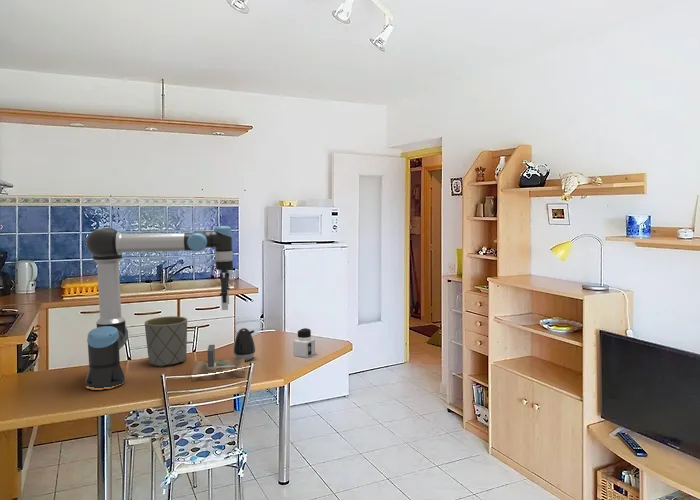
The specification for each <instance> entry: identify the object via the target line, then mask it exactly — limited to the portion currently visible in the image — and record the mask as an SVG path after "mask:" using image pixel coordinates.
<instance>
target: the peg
mask: <svg viewBox="0 0 700 500" xmlns="http://www.w3.org/2000/svg"><path fill="white" fill-rule="evenodd" d="M215 348H216V346H215V344H209V345H208V347H207V351H206V353H207V361H208V364H207V367H208V370H215V369H216V368H224V367H235V366H220V367H216V363H215V360H216V349H215Z"/></svg>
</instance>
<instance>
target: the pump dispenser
mask: <svg viewBox="0 0 700 500" xmlns="http://www.w3.org/2000/svg"><path fill="white" fill-rule="evenodd" d="M254 333H255V330H249V329H248V328H246V327H243V328H241V329H239V330H238V332H237V334H236V336H235V340H234V344H233V354H234V357H235V359H245V362H247V361H249V360H251V359H252V358H253V357H254V356H255V352H256V346H255V341H254V337H253V336H252V334H254ZM246 360H247V361H246Z"/></svg>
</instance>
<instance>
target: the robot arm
mask: <svg viewBox="0 0 700 500" xmlns="http://www.w3.org/2000/svg"><path fill="white" fill-rule="evenodd" d="M232 232H233V231H232V228H231V227H230V226H227V225H218V226H217V225H216V226H215V227H214V230H208V231H207V230H200V231H199V230H193V231H191V230H190V231H188V232H174V233H163V232H162V233H121V232H120V231H119V230H117V229H115V228H112V227H102V228H98V229H95V230H93V231H91V232H90V233H89V234H88V235H87V237H86V239H85V240H86V241H85V245H86V249H87V250H88V252H89V253H90V254H91V255H92V261H93V262H95V263H96V267H97V268H96V269H97V288H98V305H99V319H98V320H97V321H96V328H93V329H91V330H90V331H89V332H88V333H87V339H86V340H87V341H86V342H87V350H88V351H87V353H88V372H87V375H86V378H85V381H84V383H85V384H86V386H89V387H94V388H104V387H112V386H116V385H119V384H122V383H123V382H125V383H126V376H125V373H124V371H123V369H122V367H121V364H120V363H121V362H120V350H121V349H122V348H123V347H124V346H125V345H126V343H127V341H128V338H129V329H128V328H127V327H126V319H125V318H124V317H123V316H122V303H121V285H120V284H121V281H120V265H119V263H120V262H121V261H122V259H123V253H148V252H150V253H152V252H154V253H155V252H183V251H184V252H186V251H187V252H190V251H192V252H201V251H203V250H204V249H208V248H209V249H211V248H214V256H215V260H216V261H215V270H218V271H221V272H220V274H219V277H220V280H219V281H220V283H221V284H220V286H221V287H220V289H221V290H220V291H221V293H219V296H220V298H221V301H220V302H221V311H228V310H229V305H230V290H231V287H230V286H229V280H230V278H229V277H230V272H229V270H232V269H233V268H234V263H233V256H234V255H235V254H234V252H233V233H232ZM85 384H84V385H85Z"/></svg>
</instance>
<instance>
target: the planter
mask: <svg viewBox="0 0 700 500" xmlns="http://www.w3.org/2000/svg"><path fill="white" fill-rule="evenodd" d="M144 329H145V339H146V347H147V356H148V357H147V358H148V364H151V365H153V366H156V367H159V368H163V367H164V366H167V365H174V364H179V363H181V362H183V363H185V362H186V361H187V351H188V350H187V347H188V345H187V344H188V318H187V317H185V316H184V317H183V316H176V315H175V316H173V315H172V316H170V315H169V316H160V317H155V318H154V317H153V318H150V319H148V320H146V321H144Z"/></svg>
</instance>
